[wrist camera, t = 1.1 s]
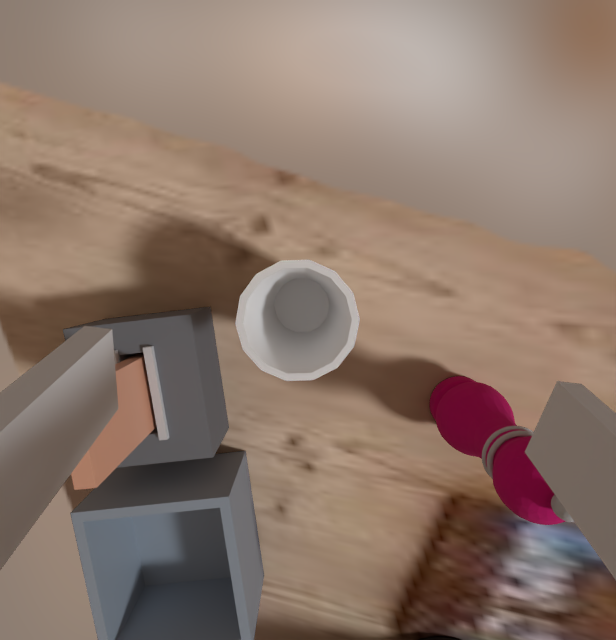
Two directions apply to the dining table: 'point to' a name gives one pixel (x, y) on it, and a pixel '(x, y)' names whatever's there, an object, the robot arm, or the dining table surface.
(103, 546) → the bin
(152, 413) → the terracotta flat slab
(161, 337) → the dispenser
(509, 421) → the pepper mill
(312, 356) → the foam cup
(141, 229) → the dining table surface
